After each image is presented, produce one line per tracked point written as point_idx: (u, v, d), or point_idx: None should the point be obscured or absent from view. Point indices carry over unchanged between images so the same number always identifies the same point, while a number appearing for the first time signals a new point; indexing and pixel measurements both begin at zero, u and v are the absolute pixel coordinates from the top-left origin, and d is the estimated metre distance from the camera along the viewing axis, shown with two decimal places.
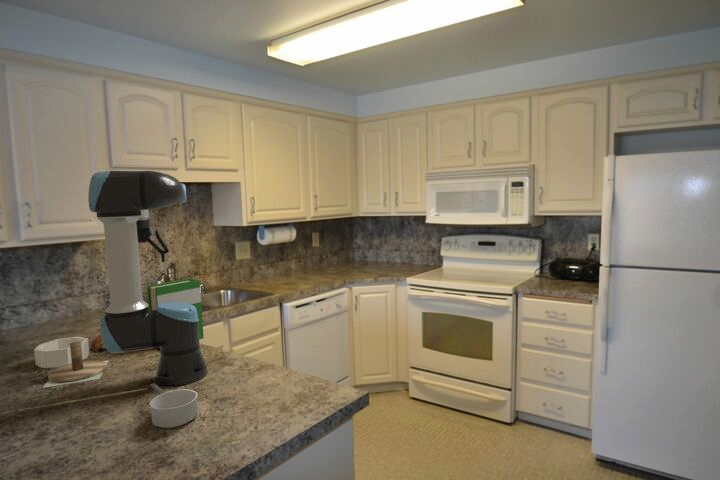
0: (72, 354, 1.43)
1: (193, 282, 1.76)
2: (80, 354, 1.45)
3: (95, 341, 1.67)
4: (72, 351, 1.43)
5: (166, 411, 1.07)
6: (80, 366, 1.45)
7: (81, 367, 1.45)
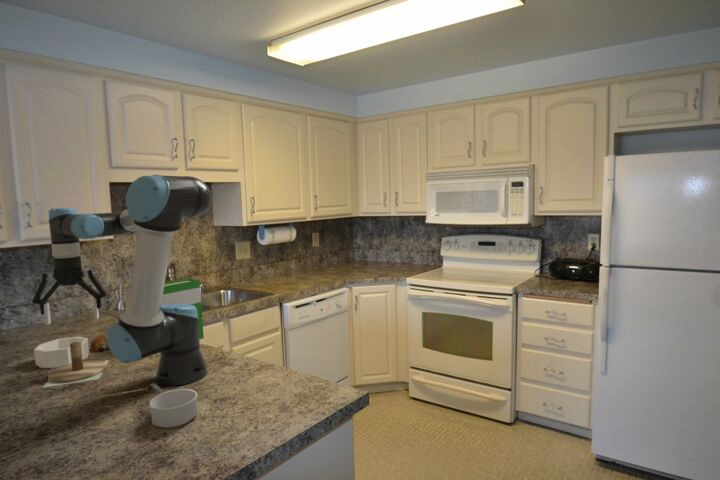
0: (72, 354, 1.43)
1: (193, 282, 1.76)
2: (80, 354, 1.45)
3: (95, 341, 1.67)
4: (72, 351, 1.43)
5: (165, 411, 1.07)
6: (80, 366, 1.45)
7: (81, 367, 1.45)
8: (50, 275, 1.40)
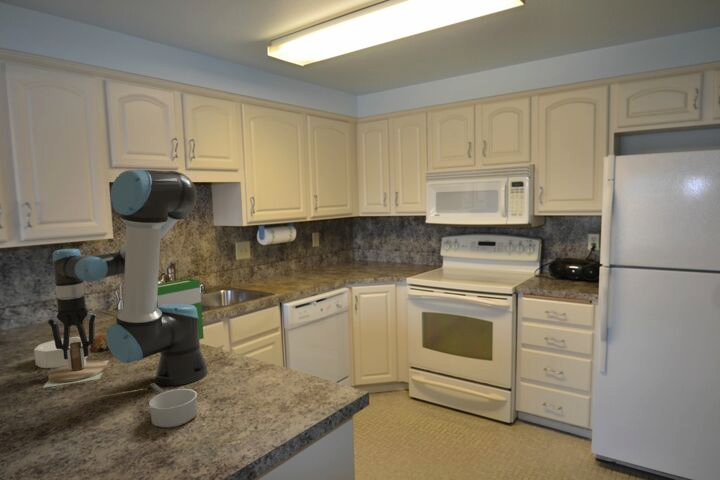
0: (72, 354, 1.43)
1: (193, 282, 1.76)
2: (80, 354, 1.45)
3: (95, 341, 1.67)
4: (72, 351, 1.43)
5: (165, 411, 1.07)
6: (80, 366, 1.45)
7: (81, 367, 1.45)
8: (55, 319, 1.42)
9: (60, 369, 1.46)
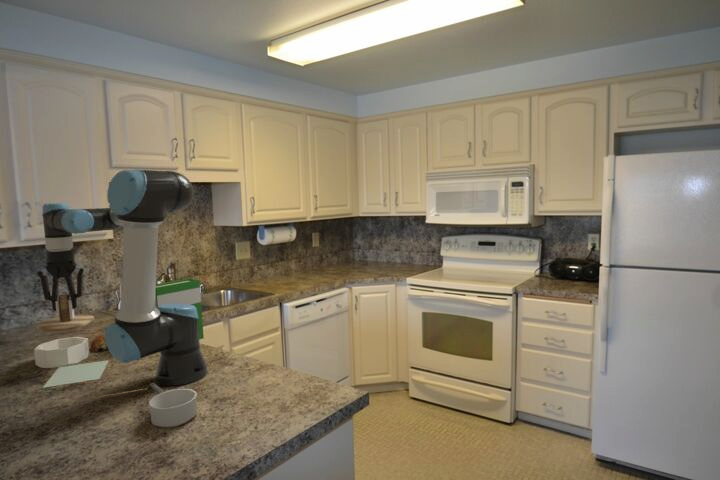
0: (60, 305, 1.47)
1: (193, 282, 1.76)
2: (68, 306, 1.49)
3: (95, 341, 1.67)
4: (60, 302, 1.47)
5: (165, 410, 1.07)
6: (68, 317, 1.49)
7: (69, 319, 1.49)
8: (44, 270, 1.45)
9: (49, 320, 1.50)
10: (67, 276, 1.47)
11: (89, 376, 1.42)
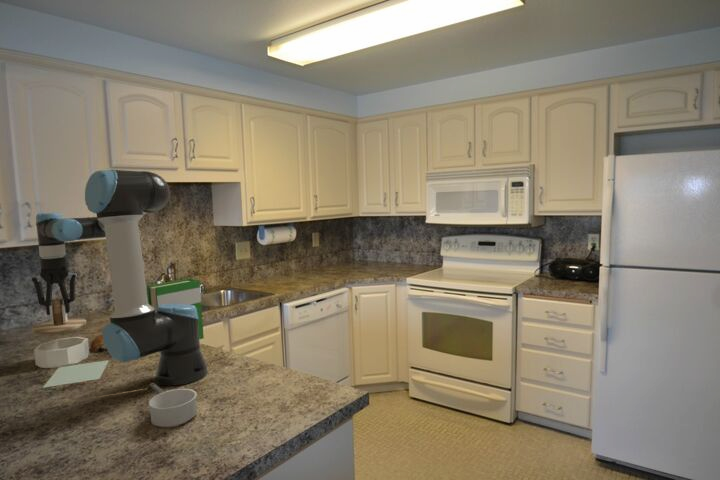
0: (54, 310, 1.55)
1: (193, 282, 1.76)
2: None
3: (95, 341, 1.67)
4: (54, 307, 1.55)
5: (165, 410, 1.08)
6: (62, 321, 1.57)
7: (62, 322, 1.57)
8: (38, 277, 1.54)
9: (43, 324, 1.58)
10: (60, 282, 1.55)
11: (89, 376, 1.42)
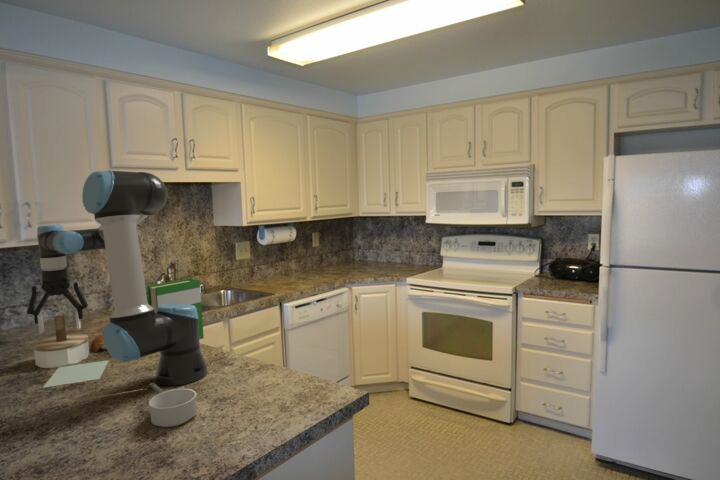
0: (56, 326, 1.56)
1: (193, 282, 1.76)
2: (63, 326, 1.57)
3: (94, 341, 1.67)
4: (56, 323, 1.56)
5: (165, 410, 1.08)
6: (63, 337, 1.57)
7: (64, 338, 1.57)
8: (39, 287, 1.54)
9: (45, 340, 1.58)
10: (64, 292, 1.56)
11: (89, 376, 1.42)
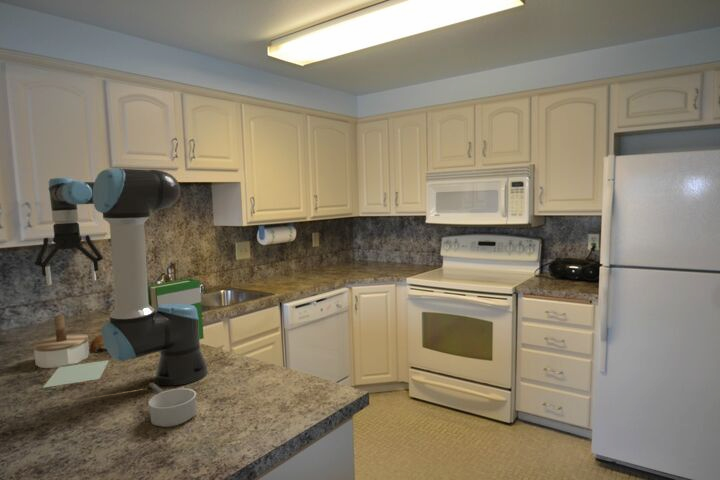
0: (56, 326, 1.56)
1: (193, 282, 1.76)
2: (63, 326, 1.57)
3: (94, 341, 1.67)
4: (56, 323, 1.56)
5: (164, 410, 1.08)
6: (63, 337, 1.57)
7: (64, 338, 1.57)
8: (51, 240, 1.53)
9: (45, 340, 1.58)
10: (77, 245, 1.55)
11: (89, 376, 1.42)
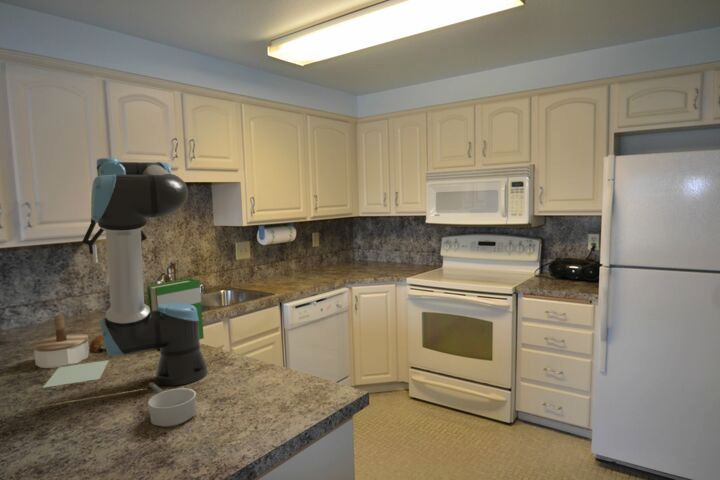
0: (56, 326, 1.56)
1: (193, 282, 1.76)
2: (63, 326, 1.57)
3: (94, 342, 1.67)
4: (56, 323, 1.56)
5: (164, 410, 1.08)
6: (63, 337, 1.57)
7: (64, 338, 1.57)
8: None
9: (45, 340, 1.58)
10: None
11: (89, 376, 1.42)
